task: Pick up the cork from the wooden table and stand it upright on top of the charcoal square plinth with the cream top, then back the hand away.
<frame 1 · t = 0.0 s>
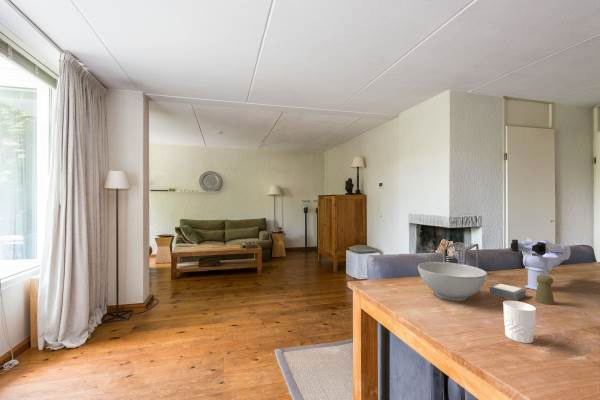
hand: (521, 247, 119), 22 cm above the table, tool horizontal, fingers open, 7 cm apart
cork: (544, 302, 112), on the table
white cup: (518, 338, 83), on the table
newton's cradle: (461, 277, 148), on the table
plinth: (507, 294, 121), on the table
decorative bowl: (450, 296, 119), on the table
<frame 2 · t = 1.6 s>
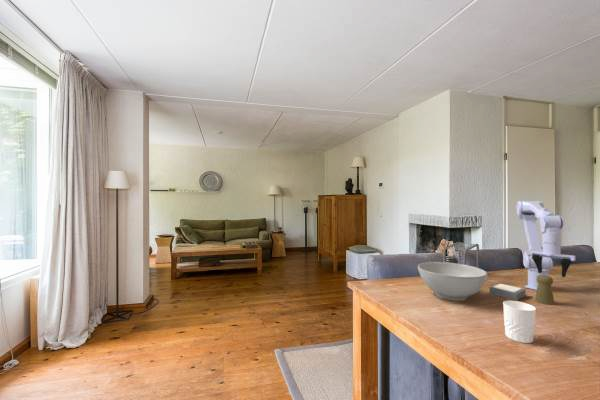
hand: (551, 274, 116), 10 cm above the table, tool pointing down, fingers open, 7 cm apart
nothing on the table moved.
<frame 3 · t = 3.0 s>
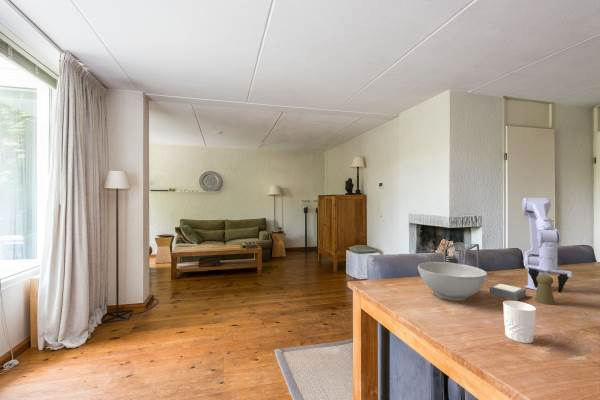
hand: (548, 289, 114), 4 cm above the table, tool pointing down, fingers open, 7 cm apart
nothing on the table moved.
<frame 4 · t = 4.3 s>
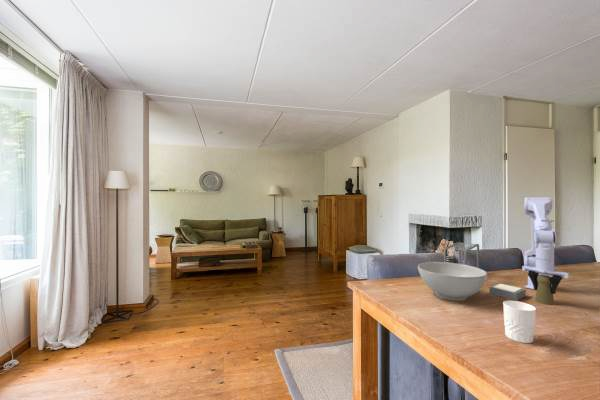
hand: (544, 291, 112), 4 cm above the table, tool pointing down, fingers closed on cork, 5 cm apart
cork: (544, 302, 112), on the table, touching gripper
everything else where it was.
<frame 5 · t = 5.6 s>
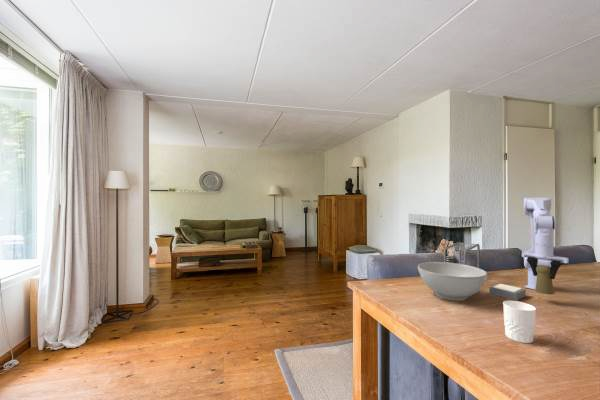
hand: (543, 277, 112), 10 cm above the table, tool pointing down, fingers closed on cork, 5 cm apart
cork: (544, 292, 112), point 4 cm above the table, touching gripper
everything else where it was.
when the fingers open (9 cm above the table, at t = 7.2 s): cork stays where it is, resting on plinth.
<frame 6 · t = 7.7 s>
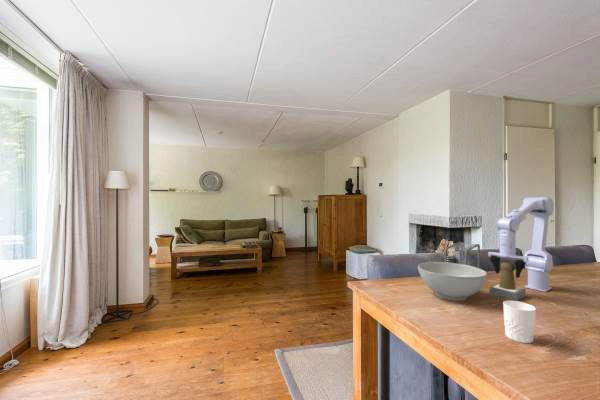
hand: (507, 275, 121), 9 cm above the table, tool pointing down, fingers open, 7 cm apart
cork: (507, 287, 121), point 3 cm above the table, touching plinth
everything else where it was.
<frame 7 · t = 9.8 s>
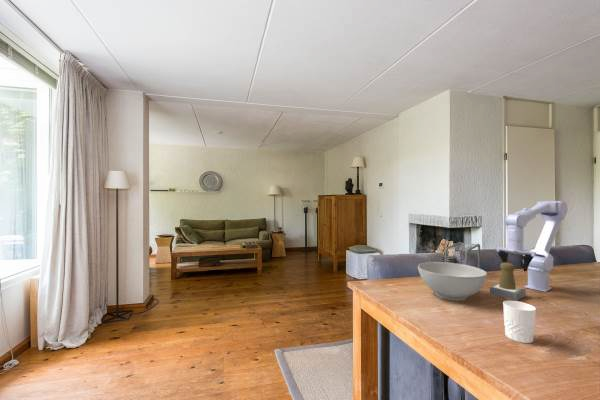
hand: (515, 269, 125), 10 cm above the table, tool pointing down, fingers open, 7 cm apart
nothing on the table moved.
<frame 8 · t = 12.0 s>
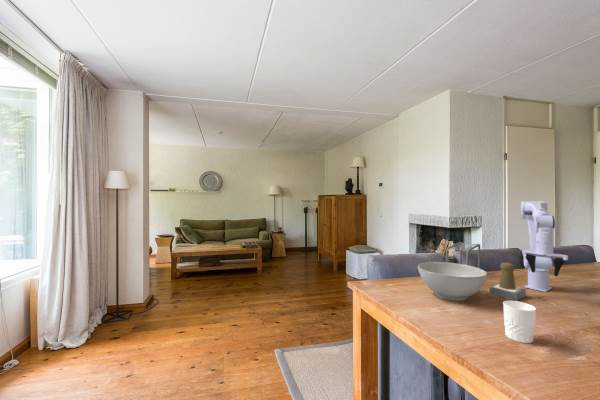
hand: (544, 273, 117), 10 cm above the table, tool pointing down, fingers open, 7 cm apart
at the end: cork 0.1 cm off-centre on the plinth, point 3.1 cm above the plinth's base; cork tilted 0°; the gripper is holding nothing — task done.
